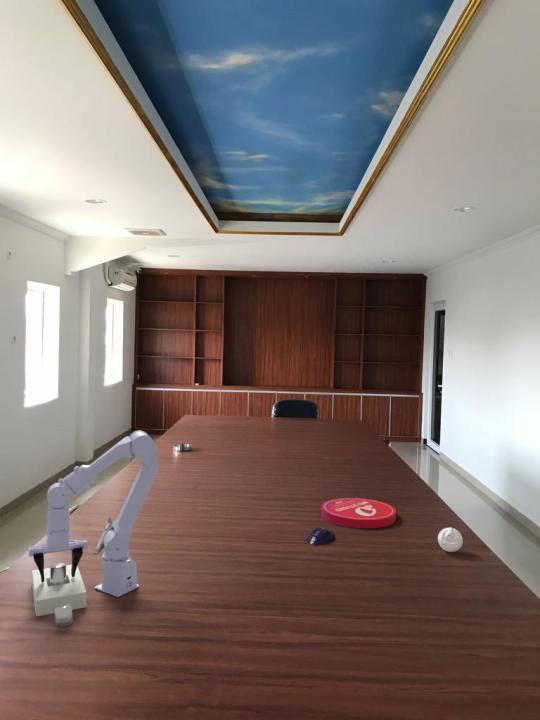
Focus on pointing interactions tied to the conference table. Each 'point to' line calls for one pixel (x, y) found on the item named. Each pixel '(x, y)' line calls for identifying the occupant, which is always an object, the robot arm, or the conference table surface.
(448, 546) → the white ball
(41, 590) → the pin board
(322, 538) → the computer mouse
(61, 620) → the short pin
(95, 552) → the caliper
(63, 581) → the tall pin
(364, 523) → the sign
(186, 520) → the conference table surface
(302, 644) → the conference table surface
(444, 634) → the conference table surface
